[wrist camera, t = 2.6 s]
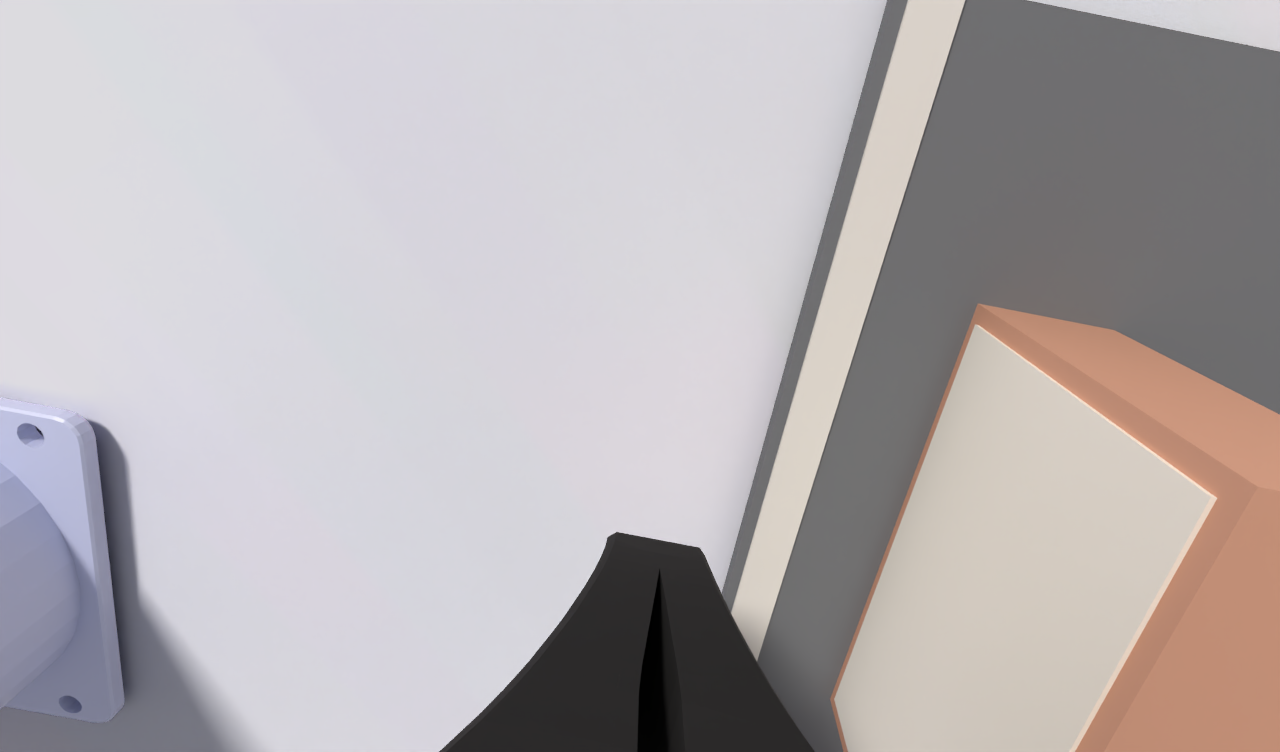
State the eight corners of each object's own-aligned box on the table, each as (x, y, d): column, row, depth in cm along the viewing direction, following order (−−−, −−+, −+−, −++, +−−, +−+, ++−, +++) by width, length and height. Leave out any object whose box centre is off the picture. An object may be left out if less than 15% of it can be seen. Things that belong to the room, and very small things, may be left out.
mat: (663, 803, 17) (662, 821, 17) (893, -21, 11) (902, -27, 10) (1450, 945, 17) (1470, 968, 17) (2136, 232, 11) (2196, 237, 11)
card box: (827, 698, 15) (918, 1061, 9) (974, 303, 12) (1251, 486, 6) (938, 719, 15) (1096, 1093, 9) (1114, 329, 12) (1519, 536, 6)
